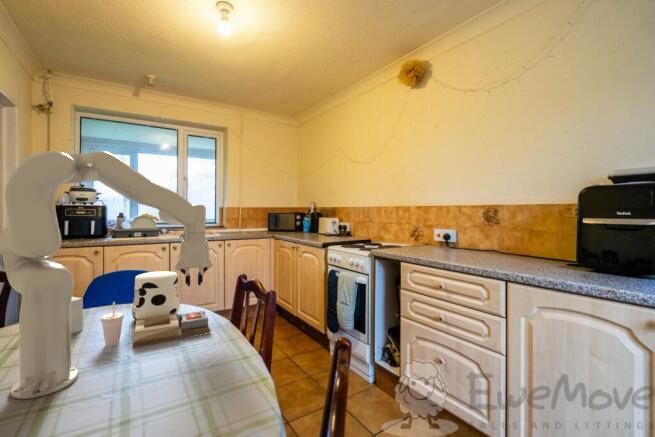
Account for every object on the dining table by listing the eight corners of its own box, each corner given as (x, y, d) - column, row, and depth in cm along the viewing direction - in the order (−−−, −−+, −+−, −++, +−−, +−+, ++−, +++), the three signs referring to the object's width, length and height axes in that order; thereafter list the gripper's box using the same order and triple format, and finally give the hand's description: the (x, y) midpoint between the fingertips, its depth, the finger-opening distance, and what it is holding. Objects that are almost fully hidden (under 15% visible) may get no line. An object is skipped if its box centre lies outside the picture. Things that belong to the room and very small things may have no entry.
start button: (201, 325, 111) (201, 316, 111) (186, 327, 108) (187, 319, 108) (199, 320, 115) (199, 312, 115) (185, 323, 113) (185, 314, 113)
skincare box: (58, 332, 106) (58, 299, 106) (72, 327, 110) (72, 296, 110) (70, 334, 104) (70, 301, 104) (83, 329, 109) (83, 298, 108)
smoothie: (128, 340, 101) (128, 300, 101) (113, 349, 95) (113, 306, 94) (111, 339, 102) (111, 299, 101) (95, 347, 95) (95, 305, 95)
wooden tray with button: (210, 333, 108) (210, 320, 108) (132, 347, 96) (132, 332, 96) (204, 320, 121) (204, 308, 120) (135, 331, 108) (135, 318, 108)
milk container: (187, 311, 131) (187, 271, 130) (165, 326, 113) (165, 280, 113) (148, 310, 131) (149, 270, 130) (121, 325, 114) (121, 279, 113)
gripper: (170, 238, 103) (170, 290, 104) (219, 237, 112) (218, 285, 112) (169, 236, 110) (169, 285, 110) (215, 235, 118) (214, 280, 119)
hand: (194, 284), depth 111 cm, fingers open, 3 cm apart
